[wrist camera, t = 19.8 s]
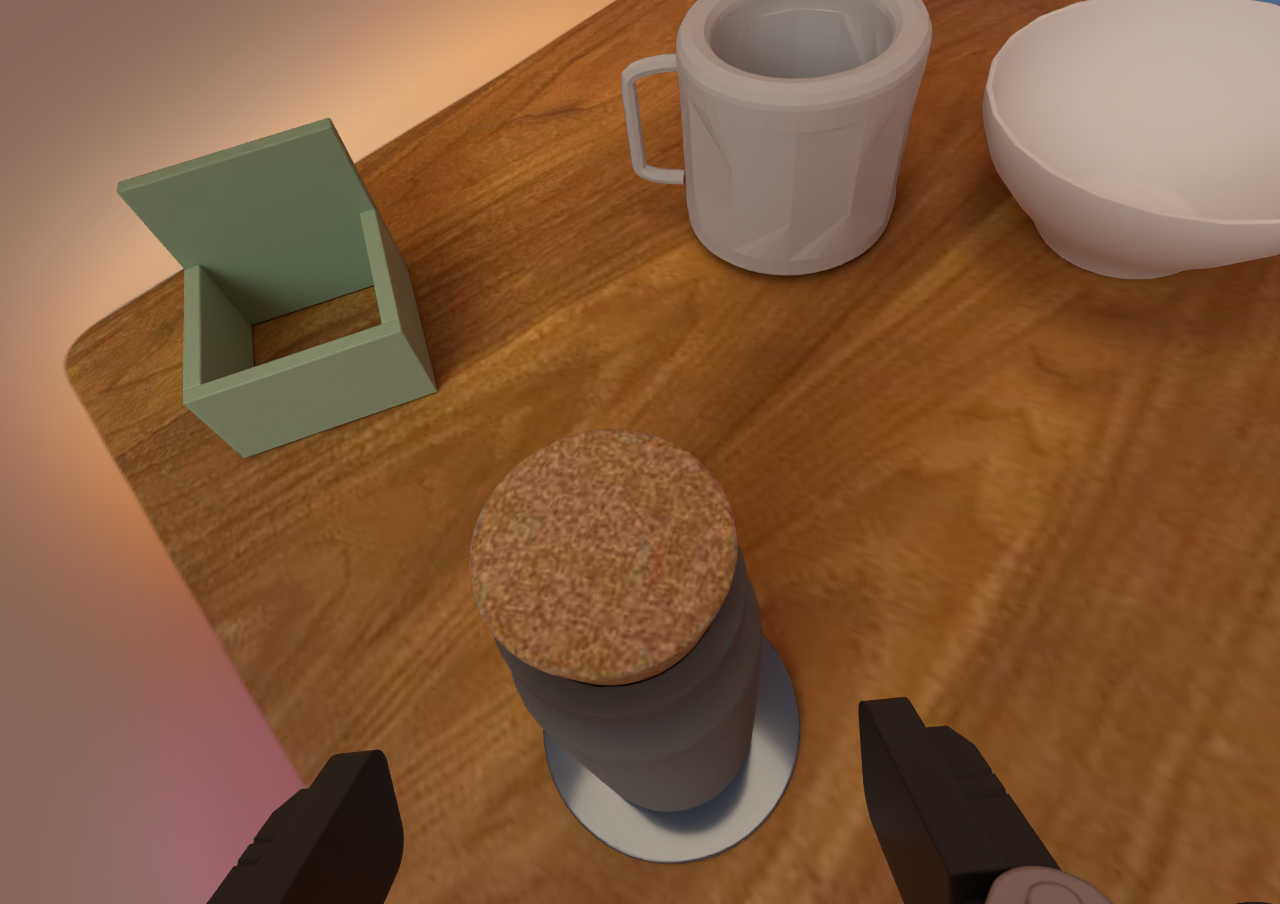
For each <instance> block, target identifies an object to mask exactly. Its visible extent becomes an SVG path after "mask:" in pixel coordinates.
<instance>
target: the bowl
mask: <svg viewBox="0 0 1280 904" xmlns="http://www.w3.org/2000/svg"><path fill="white" fill-rule="evenodd" d="M982 113H983V123H984V130H985V134H986V139H987V143H988V147H989V152H990V156H991V158H992V161H993V163H994V166H995V169H996V171H997V173H998V174H999V176H1000V177H1001V179H1002V180H1003V182H1004V183H1005V185H1006V186H1007V188H1008V189H1009V191H1010V192H1011V194H1012V195H1013V197H1014V198H1015V199H1016V201H1017V202H1018V204H1019V205H1020V207H1021V208H1022V209H1023V210H1024V211H1025V212H1026V213H1027V215H1028V216H1029V217H1030V218H1031V219H1032V220H1033V222H1034V223H1035V226H1036V229H1037V231H1038V233H1039V234H1040V236H1041V237H1042V239H1043V240H1044V241H1045V243H1046V244H1047V245H1048V246H1049V247H1050V248H1051V249H1052V250H1053V251H1054V252H1056V253H1057V254H1058V255H1059V256H1060V257H1061V258H1063V259H1065V260H1067V261H1068V262H1070V263H1072V264H1074V265H1076V266H1078V267H1079V268H1082V269H1084V270H1087V271H1090V272H1093V273H1096V274H1099V275H1102V276H1108V277H1114V278H1120V279H1153V278H1159V277H1164V276H1169V275H1173V274H1176V273H1179V272H1181V271H1186V270H1193V269H1206V268H1214V267H1219V266H1224V265H1229V264H1235V263H1240V262H1245V261H1250V260H1255V259H1260V258H1265V257H1271V256H1276V255H1278V254H1280V6H1278V5H1275V4H1271V3H1266V2H1260V1H1255V0H1087V1H1082V2H1077V3H1074V4H1072V5H1069V6H1066V7H1064V8H1061V9H1059V10H1056V11H1053V12H1051V13H1048V14H1045V15H1043V16H1040V17H1038V18H1037V19H1035V20H1034V21H1032V22H1031V23H1030V24H1028V25H1027V26H1025V27H1024V28H1022V29H1021V30H1019V31H1018V32H1016V33H1015V34H1013V35H1012V36H1011V37H1010V38H1009V39H1008V41H1007V42H1006V43H1005V44H1004V46H1003V47H1002V48H1001V50H1000V51H999V52H998V53H997V55H996V56H995V57H994V59H993V60H992V63H991V67H990V71H989V75H988V79H987V83H986V88H985V93H984V99H983V105H982Z"/></svg>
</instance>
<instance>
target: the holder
mask: <svg viewBox="0 0 1280 904" xmlns="http://www.w3.org/2000/svg"><path fill="white" fill-rule="evenodd" d="M117 192H118V194H119V195H120V196H121V197H122V198H123V200H124V201H125V202H126V203H127V204H128V205H129V206H130V207H131V209H132V210H133V211H134V212H135V213H136V214H137V216H138V217H139V218H140V219H141V220H142V221H143V222H144V224H145V225H146V226H147V227H148V228H149V229H150V230H151V232H153V234H154V235H155V236H156V237H157V238H158V239H159V240H160V242H161V243H162V244H163V245H164V246H165V247H166V249H167V250H168V251H169V252H170V253H171V254H172V255H173V257H174V258H175V259H176V260H177V261H178V262H179V263H180V264H181V266H182V267H183V268H184V269H185V270H184V357H183V390H184V391H183V404H184V405H185V406H186V407H187V408H188V409H189V410H190V411H192V412H193V413H194V414H195V415H196V416H197V417H198V418H199V419H201V420H202V421H203V422H204V423H205V424H206V425H207V426H208V427H210V428H211V429H212V430H213V431H214V432H215V433H216V434H217V435H219V436H220V437H221V438H222V439H223V440H224V441H225V442H226V443H227V444H229V445H230V446H231V447H232V448H233V449H234V450H235V451H236V452H238V453H239V454H240V455H241V456H242V457H243V458H246V457H249V456H252V455H255V454H258V453H261V452H264V451H267V450H270V449H273V448H275V447H278V446H281V445H284V444H287V443H290V442H293V441H296V440H299V439H302V438H304V437H307V436H310V435H313V434H316V433H319V432H322V431H325V430H328V429H331V428H333V427H336V426H339V425H342V424H345V423H348V422H351V421H354V420H357V419H360V418H362V417H365V416H368V415H371V414H374V413H377V412H380V411H383V410H386V409H389V408H391V407H394V406H397V405H400V404H403V403H406V402H409V401H412V400H415V399H418V398H421V397H423V396H426V395H429V394H432V393H435V392H437V386H436V382H435V378H434V374H433V370H432V365H431V361H430V357H429V353H428V349H427V345H426V341H425V337H424V333H423V329H422V325H421V321H420V317H419V313H418V308H417V304H416V300H415V296H414V292H413V288H412V284H411V280H410V276H409V273H408V268H407V264H406V263H405V261H404V259H403V257H402V255H401V253H400V251H399V249H398V247H397V245H396V243H395V241H394V240H393V238H392V236H391V234H390V232H389V230H388V228H387V226H386V224H385V222H384V220H383V218H382V216H381V215H380V213H379V211H378V209H377V207H376V205H375V203H374V201H373V199H372V197H371V195H370V193H369V192H368V190H367V188H366V186H365V184H364V182H363V180H362V178H361V176H360V174H359V172H358V170H357V168H356V167H355V165H354V163H353V161H352V159H351V157H350V155H349V153H348V151H347V149H346V147H345V145H344V144H343V142H342V140H341V138H340V136H339V134H338V132H337V130H336V128H335V127H334V124H333V122H332V121H331V119H330V118H326V119H323V120H320V121H316V122H313V123H310V124H306V125H303V126H300V127H297V128H293V129H290V130H287V131H284V132H281V133H277V134H274V135H271V136H267V137H264V138H261V139H258V140H254V141H251V142H248V143H245V144H241V145H238V146H235V147H232V148H229V149H225V150H222V151H218V152H215V153H212V154H209V155H206V156H202V157H199V158H196V159H193V160H189V161H186V162H183V163H180V164H176V165H173V166H170V167H167V168H163V169H160V170H157V171H153V172H150V173H147V174H144V175H141V176H137V177H134V178H130V179H127V180H124V181H121V182H119V183H118V188H117ZM373 285H374V287H375V292H376V297H377V302H378V307H379V312H380V317H381V322H382V324H381V325H378V326H375V327H372V328H369V329H366V330H363V331H360V332H357V333H354V334H351V335H348V336H345V337H342V338H339V339H336V340H333V341H330V342H327V343H324V344H321V345H318V346H315V347H312V348H309V349H306V350H303V351H300V352H297V353H295V354H292V355H289V356H286V357H283V358H280V359H277V360H274V361H271V362H268V363H265V364H262V365H259V366H256V367H254V356H253V340H252V326H251V325H254V324H257V323H260V322H263V321H266V320H269V319H273V318H276V317H279V316H282V315H285V314H288V313H291V312H294V311H297V310H300V309H303V308H306V307H309V306H312V305H315V304H318V303H321V302H324V301H327V300H330V299H333V298H336V297H339V296H342V295H345V294H348V293H352V292H355V291H358V290H361V289H364V288H367V287H370V286H373Z"/></svg>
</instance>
